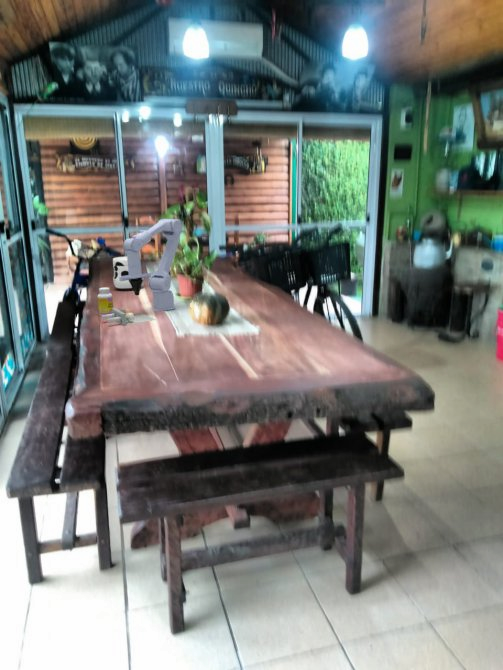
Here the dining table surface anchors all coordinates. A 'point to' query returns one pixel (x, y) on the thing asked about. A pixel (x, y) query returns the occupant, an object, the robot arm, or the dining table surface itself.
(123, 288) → the milk container
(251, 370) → the dining table surface
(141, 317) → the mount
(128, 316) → the ivory knob
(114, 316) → the charcoal knob
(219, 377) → the dining table surface
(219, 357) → the dining table surface
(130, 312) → the dial
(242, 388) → the dining table surface
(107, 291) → the supplement bottle
